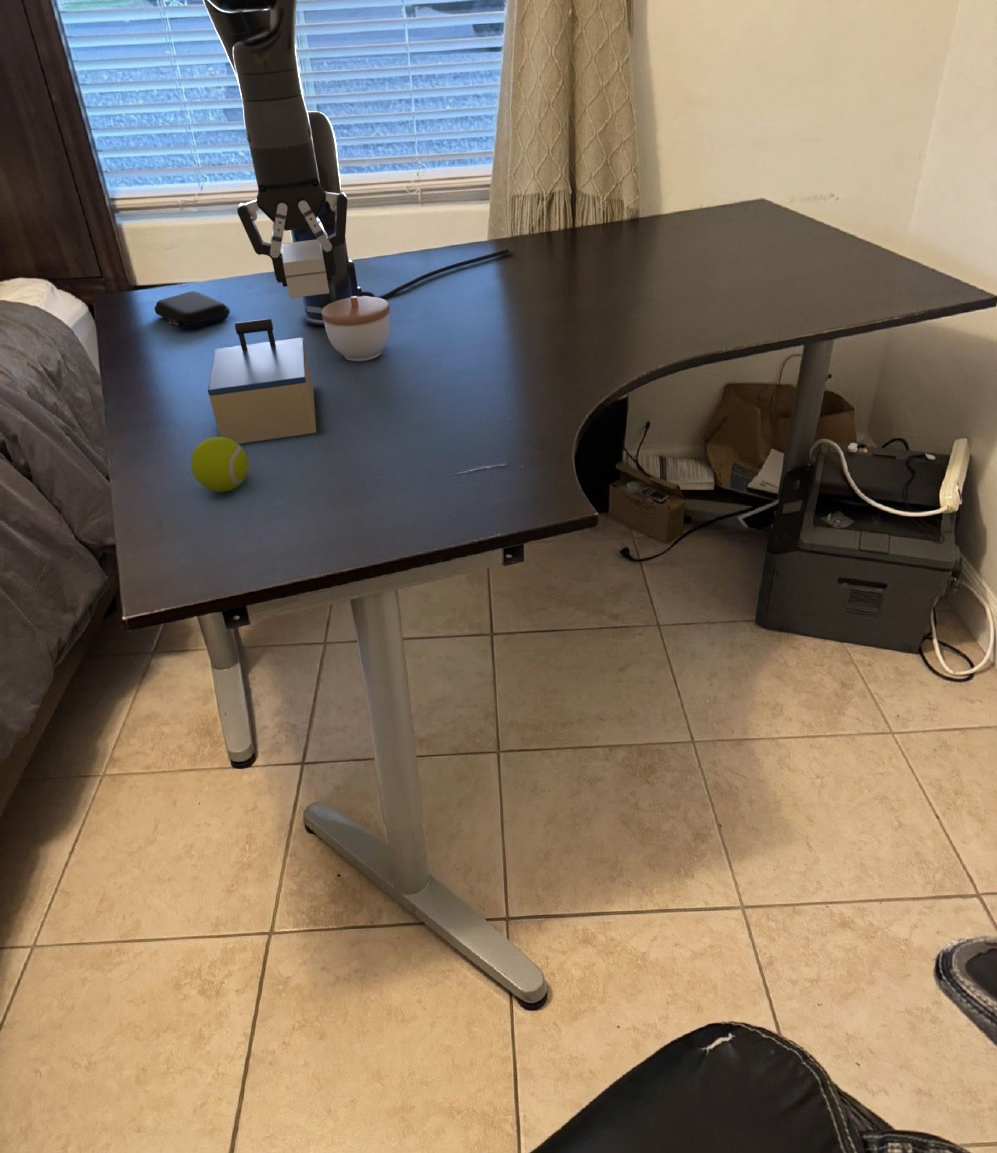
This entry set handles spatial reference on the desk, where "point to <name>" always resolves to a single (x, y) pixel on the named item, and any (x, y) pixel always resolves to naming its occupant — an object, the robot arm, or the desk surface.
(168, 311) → the carrying case
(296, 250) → the beige case
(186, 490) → the desk surface
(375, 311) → the white bowl with lid
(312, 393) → the storage box
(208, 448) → the tennis ball
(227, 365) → the blue lid
